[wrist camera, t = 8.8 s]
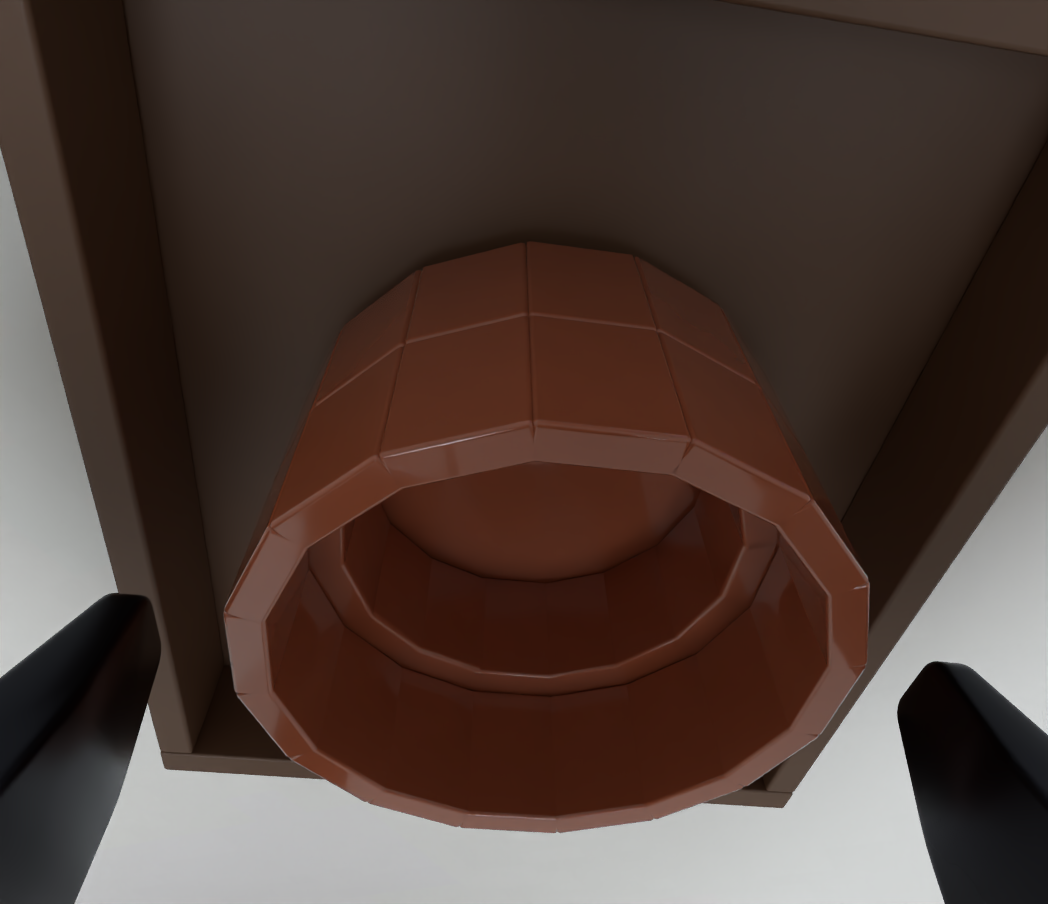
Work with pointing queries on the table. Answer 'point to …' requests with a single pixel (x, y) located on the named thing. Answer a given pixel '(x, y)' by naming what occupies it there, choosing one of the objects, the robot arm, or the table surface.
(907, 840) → the table surface
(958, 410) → the tray
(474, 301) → the plant pot
